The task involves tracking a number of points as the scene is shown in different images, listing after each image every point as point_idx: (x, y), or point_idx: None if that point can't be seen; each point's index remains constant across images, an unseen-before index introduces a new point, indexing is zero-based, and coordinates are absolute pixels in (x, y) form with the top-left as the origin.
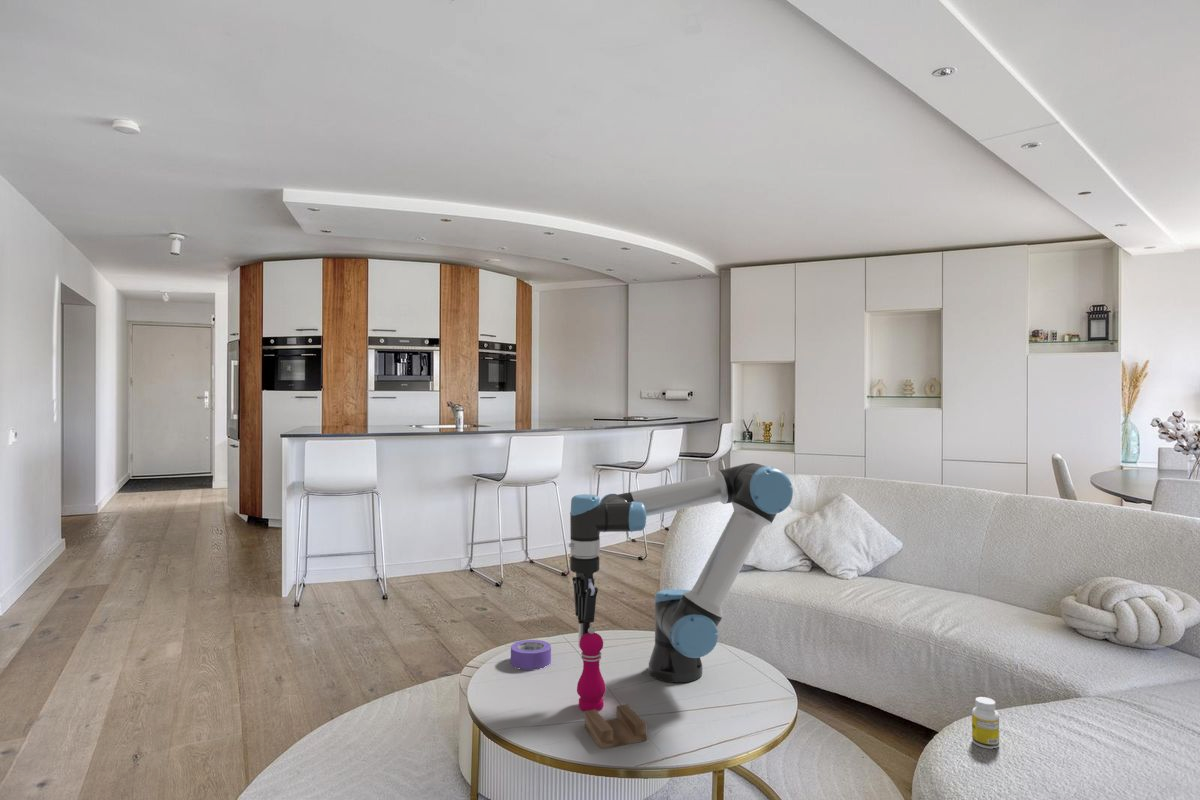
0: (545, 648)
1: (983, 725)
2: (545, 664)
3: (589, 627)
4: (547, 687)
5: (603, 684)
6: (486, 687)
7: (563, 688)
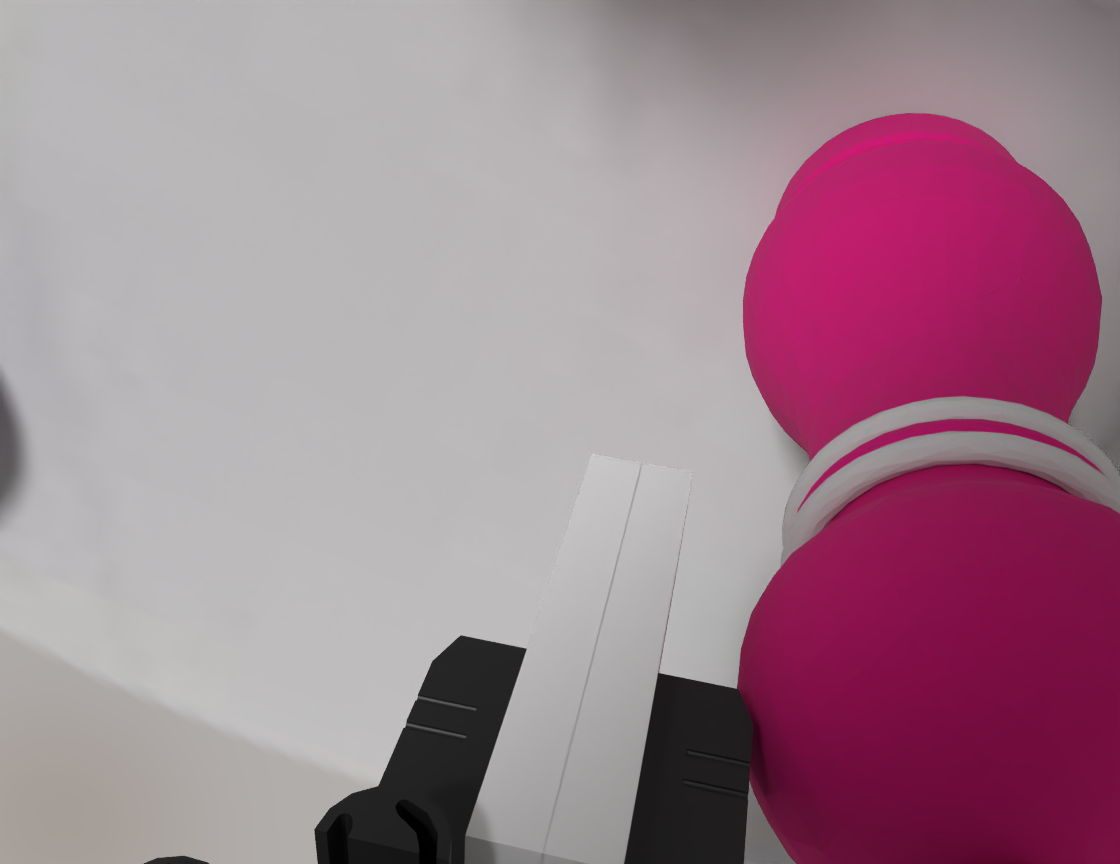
0: None
1: None
2: None
3: (743, 852)
4: (343, 378)
5: (1074, 252)
6: (226, 687)
7: (406, 275)
